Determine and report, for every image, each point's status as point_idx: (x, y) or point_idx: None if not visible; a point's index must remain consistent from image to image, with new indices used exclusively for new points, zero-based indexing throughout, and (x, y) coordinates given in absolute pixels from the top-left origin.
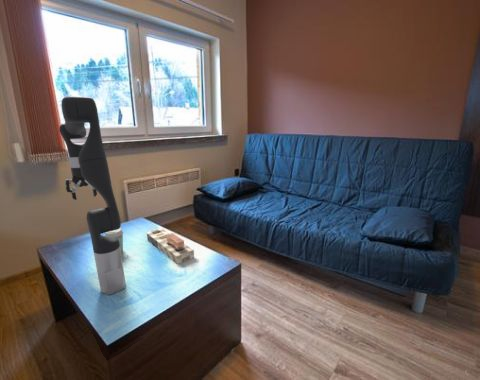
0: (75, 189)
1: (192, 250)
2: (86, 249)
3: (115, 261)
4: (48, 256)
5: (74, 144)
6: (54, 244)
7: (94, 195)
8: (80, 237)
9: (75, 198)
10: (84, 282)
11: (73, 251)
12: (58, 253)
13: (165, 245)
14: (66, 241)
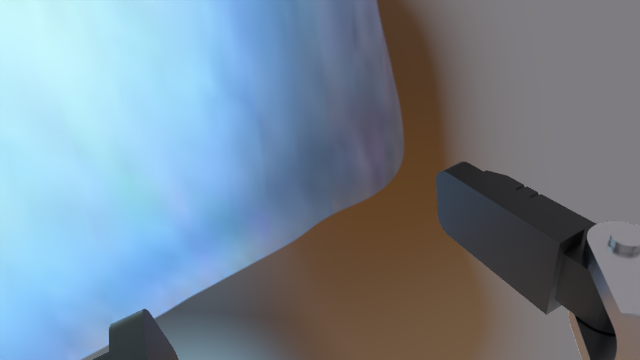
0: (635, 301)
1: None
2: (221, 73)
3: None
4: (382, 71)
5: None
6: (366, 195)
7: (140, 325)
8: (270, 240)
9: (471, 172)
10: None
11: (285, 78)
12: (347, 86)
13: None
14: (324, 212)
